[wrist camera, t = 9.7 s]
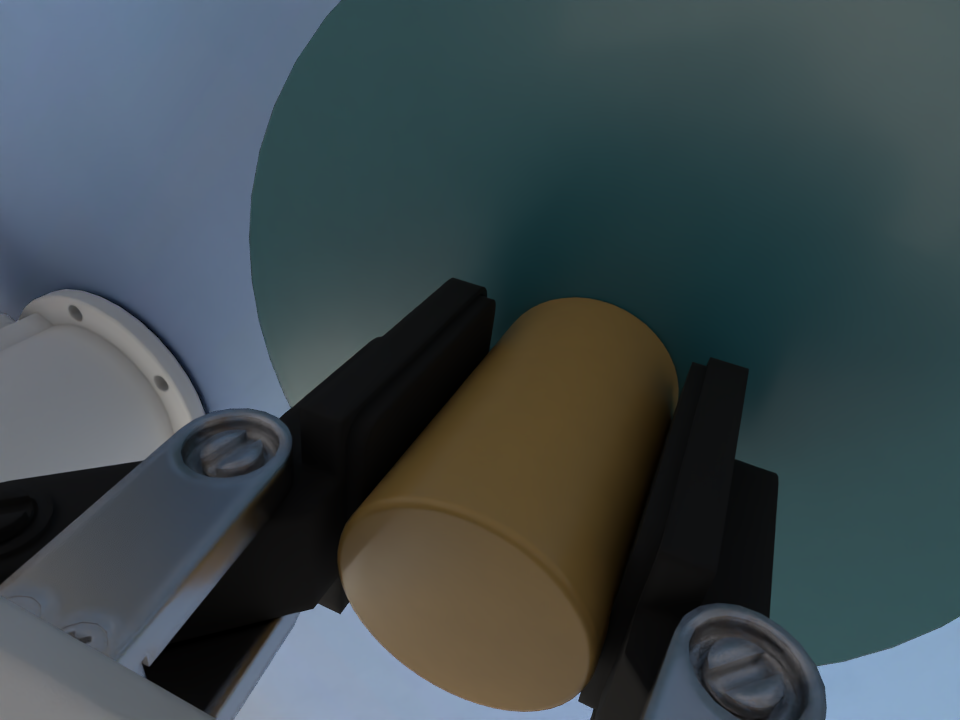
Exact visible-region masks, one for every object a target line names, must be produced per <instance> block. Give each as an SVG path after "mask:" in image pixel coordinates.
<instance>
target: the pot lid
mask: <svg viewBox="0 0 960 720" xmlns="http://www.w3.org/2000/svg"><path fill="white" fill-rule="evenodd" d="M249 244H250V260H251V276H252V284H253V290H254V295H255V301H256V307H257V312H258V318H259V322H260V326H261V329H262V333H263V336H264V340H265V343H266V347H267V350H268V354H269V357H270V360H271V363H272V365H273V368H274V370H275V373H276V375H277V378H278V380H279V383H280V385H281V388H282V390H283V393H284V395H285V397H286V399H287V401H288V403H289V405H290V407H291V408H292V407H293V406H294V405H296V404H297V403H298V402H299V401H300V400H301V399H303V398H304V397H305V396H306V395H307V394H309V393H310V392H311V391H312V390H313V389H314V388H316V387H317V386H318V385H319V384H320V383H322V382H323V381H324V380H325V379H326V378H327V377H329V376H330V375H331V374H332V373H333V372H335V371H336V370H337V369H338V368H339V367H340V366H342V365H343V364H344V363H345V362H346V361H348V360H349V359H350V358H351V357H352V356H353V355H355V354H356V353H357V352H358V351H359V350H361V349H362V348H363V347H364V346H365V345H366V344H368V343H369V342H370V341H371V340H373V339H375V338H376V337H382V336H384V335H385V334H386V333H387V332H388V331H389V330H390V329H392V328H393V327H394V326H395V325H396V324H397V323H399V322H400V321H401V320H402V319H403V318H404V317H406V316H407V315H408V314H409V313H410V312H411V311H413V310H414V309H415V308H416V307H417V306H418V305H420V304H421V303H422V302H423V301H424V300H425V299H427V298H428V297H429V296H430V295H431V294H432V293H434V292H435V291H436V290H437V289H438V288H439V287H441V286H442V285H443V284H444V283H445V282H446V281H448V280H449V279H451V278H456V279H459V280H463V281H466V282H469V283H472V284H476V285H479V286H482V287H485V288H486V290H487V298H491V299H494V300H495V302H496V310H495V317H494V324H493V330H492V337H491V344H490V350H489V353H488V354H487V355H486V356H485V358H484V359H483V360H482V361H481V362H480V363H479V365H478V366H477V367H476V368H475V369H474V371H473V372H472V373H471V374H470V375H469V377H468V378H467V379H466V380H465V381H464V383H463V384H462V385H461V386H460V387H459V388H458V390H457V391H456V392H455V393H454V394H453V396H452V397H451V398H450V399H449V400H448V402H447V403H446V404H445V405H444V406H443V408H442V409H441V410H440V411H439V412H438V413H437V415H436V416H435V417H434V418H433V419H432V421H431V422H430V423H429V424H428V425H427V427H426V428H425V429H424V430H423V431H422V432H421V434H420V435H419V436H418V437H417V438H416V440H415V441H414V442H413V443H412V444H411V446H410V447H409V448H408V449H407V450H406V452H405V453H404V454H403V455H402V456H401V457H400V459H399V460H398V461H397V462H396V463H395V465H394V466H393V467H392V468H391V469H390V471H389V472H388V473H387V474H386V475H385V477H384V478H383V479H382V480H381V481H380V482H379V484H378V485H377V486H376V487H375V488H374V490H373V491H372V492H371V493H370V494H369V496H368V497H367V498H366V499H365V500H364V501H363V503H362V504H361V505H360V506H359V507H358V509H357V510H356V511H355V512H354V513H353V515H352V516H351V517H350V519H349V520H348V521H347V523H346V524H345V526H344V529H343V531H342V533H341V537H340V541H339V546H338V551H337V564H338V571H339V576H340V579H341V583H342V586H343V589H344V591H345V594H346V596H347V598H348V600H349V602H350V604H351V606H352V608H353V609H354V611H355V613H356V614H357V616H358V617H359V619H360V620H361V621H362V623H363V624H364V625H365V627H366V628H367V629H368V630H369V632H370V633H371V634H372V635H373V636H374V637H375V639H376V640H377V641H378V642H379V643H380V644H381V645H382V646H383V647H384V648H385V649H386V650H387V651H388V652H389V653H391V654H392V655H393V656H394V657H395V658H396V659H397V660H399V661H400V662H401V663H402V664H404V665H405V666H406V667H407V668H409V669H410V670H412V671H413V672H415V673H416V674H417V675H419V676H420V677H422V678H424V679H425V680H427V681H428V682H430V683H432V684H433V685H435V686H437V687H439V688H441V689H443V690H445V691H447V692H449V693H451V694H453V695H456V696H458V697H460V698H463V699H465V700H468V701H471V702H474V703H477V704H480V705H484V706H487V707H491V708H496V709H502V710H508V711H520V712H528V711H541V710H546V709H551V708H554V707H557V706H560V705H563V704H564V703H566V702H568V701H570V700H571V699H573V698H574V697H575V696H576V695H577V694H579V693H580V692H581V691H582V690H583V689H584V688H585V687H586V686H587V684H588V683H589V681H590V680H591V679H592V677H593V675H594V672H595V670H596V667H597V664H598V661H599V658H600V655H601V651H602V648H603V645H604V642H605V638H606V635H607V631H608V626H609V617H610V614H611V611H612V608H613V605H614V601H615V598H616V595H617V592H618V589H619V586H620V582H621V579H622V576H623V573H624V570H625V566H626V563H627V560H628V557H629V554H630V550H631V547H632V544H633V541H634V538H635V534H636V531H637V528H638V525H639V522H640V519H641V515H642V512H643V509H644V506H645V503H646V499H647V496H648V493H649V490H650V487H651V483H652V480H653V477H654V474H655V471H656V467H657V464H658V461H659V458H660V455H661V452H662V448H663V445H664V442H665V439H666V436H667V432H668V429H669V426H670V423H671V420H672V417H673V414H674V411H675V408H676V406H677V403H678V400H679V397H680V394H681V392H682V389H683V386H684V383H685V381H686V378H687V375H688V372H689V369H690V367H691V364H692V362H695V363H698V364H702V365H705V366H707V363H708V361H709V359H710V357H712V358H716V359H719V360H722V361H725V362H729V363H732V364H735V365H738V366H741V367H745V368H748V369H749V373H748V380H747V386H746V392H745V399H744V405H743V411H742V417H741V424H740V430H739V436H738V442H737V449H736V455H735V459H737V460H740V461H742V462H745V463H748V464H751V465H754V466H757V467H760V468H763V469H765V470H768V471H771V472H774V473H777V475H778V482H779V485H778V500H777V515H776V530H775V544H774V559H773V574H772V589H771V604H770V619H771V620H773V621H774V622H776V623H777V624H779V625H781V626H782V627H783V628H784V629H785V630H786V631H788V632H789V633H790V634H791V635H792V636H793V637H794V638H795V639H796V640H797V641H798V642H799V643H801V645H802V646H803V647H804V649H805V650H806V652H807V653H808V654H809V656H810V657H811V659H812V660H813V661H814V663H815V664H816V666H821V665H827V664H833V663H838V662H844V661H848V660H851V659H854V658H858V657H861V656H865V655H868V654H872V653H875V652H879V651H882V650H886V649H889V648H893V647H895V646H897V645H900V644H902V643H905V642H907V641H909V640H912V639H914V638H916V637H919V636H921V635H924V634H926V633H928V632H931V631H933V630H935V629H938V628H940V627H942V626H944V625H946V624H947V623H949V622H951V621H953V620H954V619H956V618H958V617H959V616H960V0H341V1H340V2H339V3H338V4H337V6H336V7H335V8H334V9H333V10H332V11H331V12H330V13H329V14H328V15H327V16H326V18H325V19H324V21H323V22H322V24H321V25H320V26H319V28H318V29H317V31H316V32H315V34H314V35H313V37H312V38H311V40H310V41H309V43H308V44H307V46H306V47H305V48H304V50H303V51H302V53H301V54H300V56H299V57H298V59H297V60H296V62H295V64H294V66H293V68H292V70H291V72H290V74H289V76H288V78H287V80H286V82H285V84H284V87H283V89H282V91H281V93H280V95H279V97H278V99H277V101H276V103H275V105H274V108H273V111H272V114H271V117H270V120H269V123H268V126H267V129H266V132H265V135H264V139H263V142H262V145H261V148H260V151H259V157H258V162H257V168H256V173H255V179H254V184H253V189H252V195H251V213H250V231H249Z"/></svg>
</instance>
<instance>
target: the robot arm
mask: <svg viewBox="0 0 960 720" xmlns="http://www.w3.org/2000/svg"><path fill="white" fill-rule="evenodd" d="M495 310H496V302H495V300H494V299H491V298H487V290H486V288H485V287H482V286H479V285H476V284H472V283H469V282H466V281H463V280H459V279H456V278H451V279H449V280H448V281H446V282H445V283H444V284H443V285H442V286H441V287H439V288H438V289H437V290H436V291H435V292H434V293H432V294H431V295H430V296H429V297H428V298H427V299H425V300H424V301H423V302H422V303H421V304H420V305H418V306H417V307H416V308H415V309H414V310H413V311H411V312H410V313H409V314H408V315H407V316H406V317H404V318H403V319H402V320H401V321H400V322H399V323H397V324H396V325H395V326H394V327H393V328H392V329H390V330H389V331H388V332H387V333H386V334H385V335H384V336H382V337H376V338H375V339H373V340H371V341H370V342H369V343H368V344H366V345H365V346H364V347H363V348H362V349H361V350H359V351H358V352H357V353H356V354H355V355H353V356H352V357H351V358H350V359H349V360H348V361H346V362H345V363H344V364H343V365H342V366H340V367H339V368H338V369H337V370H336V371H335V372H333V373H332V374H331V375H330V376H329V377H327V378H326V379H325V380H324V381H323V382H322V383H320V384H319V385H318V386H317V387H316V388H314V389H313V390H312V391H311V392H310V393H309V394H307V395H306V396H305V397H304V398H303V399H301V400H300V401H299V402H298V403H297V404H296V405H294V406H293V407H292V408H291V409H290V410H288V411H287V412H286V413H285V414H284V415H282V416H281V417H280V418H277V417H275V416H273V415H271V414H269V413H267V412H264V411H259V410H254V409H248V408H247V409H226V410H220V411H215V412H211V413H208V414H205V412H204V409H203V406H202V404H201V401H200V399H199V396H198V394H197V392H196V390H195V389H194V387H193V385H192V383H191V381H190V379H189V377H188V376H187V374H186V373H185V371H184V370H183V368H182V367H181V366H180V364H179V363H178V361H177V360H176V358H175V357H174V356H173V354H172V353H171V352H170V351H169V350H168V349H167V348H166V346H165V345H164V344H163V343H162V342H161V341H160V340H159V338H158V337H157V336H156V335H155V334H153V333H152V332H151V331H150V330H149V329H148V328H147V327H146V326H145V325H144V324H143V323H141V322H140V321H139V320H138V319H136V318H135V317H134V316H132V315H131V314H129V313H128V312H127V311H125V310H124V309H123V308H121V307H119V306H117V305H116V304H114V303H112V302H110V301H108V300H106V299H104V298H102V297H100V296H97V295H94V294H91V293H88V292H85V291H81V290H71V289H64V290H58V291H53V292H51V293H48V294H46V295H44V296H42V297H39V298H37V299H35V300H33V301H31V302H30V303H29V304H28V305H27V306H26V307H25V308H24V309H23V311H22V313H21V315H20V317H19V319H18V321H14V320H13V319H12V318H11V317H10V316H8V315H7V314H3V313H0V720H234V718H235V717H236V715H237V714H238V712H239V711H240V709H241V708H242V706H243V704H244V703H245V701H246V700H247V698H248V697H249V695H250V694H251V692H252V690H253V689H254V687H255V686H256V684H257V683H258V681H259V680H260V678H261V676H262V675H263V673H264V672H265V670H266V669H267V667H268V666H269V664H270V662H271V661H272V659H273V658H274V656H275V655H276V653H277V652H278V650H279V648H280V647H281V645H282V644H283V642H284V641H285V639H286V638H287V636H288V634H289V633H290V631H291V630H292V628H293V627H294V625H295V623H296V620H297V618H298V616H299V614H300V612H302V611H306V610H310V609H314V607H315V606H316V605H317V604H321V605H323V606H325V607H327V608H329V609H331V610H333V611H335V612H337V613H339V614H341V612H342V611H343V610H344V608H345V607H346V606H347V604H348V603H349V600H348V598H347V596H346V594H345V591H344V589H343V586H342V583H341V579H340V576H339V571H338V564H337V551H338V546H339V541H340V537H341V533H342V531H343V529H344V526H345V524H346V523H347V521H348V520H349V519H350V517H351V516H352V515H353V513H354V512H355V511H356V510H357V509H358V507H359V506H360V505H361V504H362V503H363V501H364V500H365V499H366V498H367V497H368V496H369V494H370V493H371V492H372V491H373V490H374V488H375V487H376V486H377V485H378V484H379V482H380V481H381V480H382V479H383V478H384V477H385V475H386V474H387V473H388V472H389V471H390V469H391V468H392V467H393V466H394V465H395V463H396V462H397V461H398V460H399V459H400V457H401V456H402V455H403V454H404V453H405V452H406V450H407V449H408V448H409V447H410V446H411V444H412V443H413V442H414V441H415V440H416V438H417V437H418V436H419V435H420V434H421V432H422V431H423V430H424V429H425V428H426V427H427V425H428V424H429V423H430V422H431V421H432V419H433V418H434V417H435V416H436V415H437V413H438V412H439V411H440V410H441V409H442V408H443V406H444V405H445V404H446V403H447V402H448V400H449V399H450V398H451V397H452V396H453V394H454V393H455V392H456V391H457V390H458V388H459V387H460V386H461V385H462V384H463V383H464V381H465V380H466V379H467V378H468V377H469V375H470V374H471V373H472V372H473V371H474V369H475V368H476V367H477V366H478V365H479V363H480V362H481V361H482V360H483V359H484V358H485V356H486V355H487V354H488V353H489V350H490V344H491V337H492V330H493V324H494V317H495ZM748 373H749V369H748V368H745V367H741V366H738V365H735V364H732V363H729V362H725V361H722V360H719V359H716V358H712V357H710V359H709V361H708V363H707V366H705V365H702V364H698V363H695V362H692V364H691V367H690V369H689V372H688V375H687V378H686V381H685V383H684V386H683V389H682V392H681V394H680V397H679V400H678V403H677V406H676V408H675V411H674V414H673V417H672V420H671V423H670V426H669V429H668V432H667V436H666V439H665V442H664V445H663V448H662V452H661V455H660V458H659V461H658V464H657V467H656V471H655V474H654V477H653V480H652V483H651V487H650V490H649V493H648V496H647V499H646V503H645V506H644V509H643V512H642V515H641V519H640V522H639V525H638V528H637V531H636V534H635V538H634V541H633V544H632V547H631V550H630V554H629V557H628V560H627V563H626V566H625V570H624V573H623V576H622V579H621V582H620V586H619V589H618V592H617V595H616V598H615V601H614V605H613V608H612V611H611V614H610V617H609V626H608V631H607V635H606V638H605V642H604V645H603V648H602V651H601V655H600V658H599V661H598V664H597V667H596V670H595V672H594V675H593V677H592V679H591V680H590V681H589V683H588V684H587V686H586V687H585V688H584V689H583V690H582V691H581V694H580V697H579V700H578V701H579V702H581V703H583V704H585V705H587V706H589V707H591V708H593V713H592V716H591V719H590V720H825V718H826V709H827V707H826V695H825V686H824V683H823V681H822V679H821V676H820V674H819V671H818V669H817V666H816V664H815V663H814V661H813V660H812V659H811V657H810V656H809V654H808V653H807V652H806V650H805V649H804V647H803V646H802V645H801V643H799V642H798V641H797V640H796V639H795V638H794V637H793V636H792V635H791V634H790V633H789V632H788V631H786V630H785V629H784V628H783V627H782V626H781V625H779V624H777V623H776V622H774V621H773V620H771V619H770V604H771V589H772V574H773V559H774V544H775V530H776V515H777V500H778V485H779V482H778V475H777V473H774V472H771V471H768V470H765V469H763V468H760V467H757V466H754V465H751V464H748V463H745V462H742V461H740V460H737V459H735V455H736V449H737V442H738V436H739V430H740V424H741V417H742V411H743V405H744V399H745V392H746V386H747V380H748Z"/></svg>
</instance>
